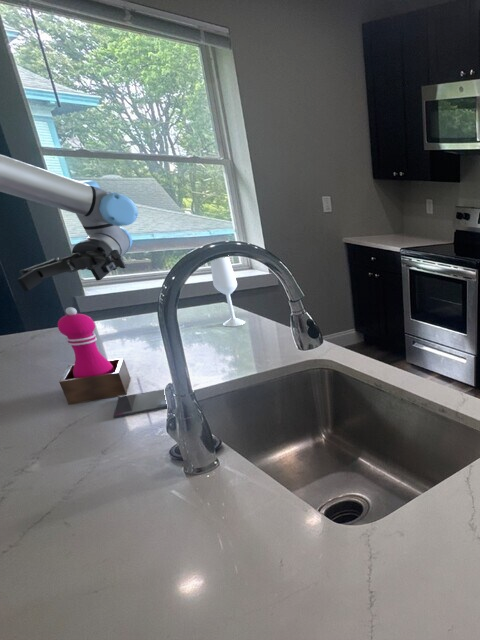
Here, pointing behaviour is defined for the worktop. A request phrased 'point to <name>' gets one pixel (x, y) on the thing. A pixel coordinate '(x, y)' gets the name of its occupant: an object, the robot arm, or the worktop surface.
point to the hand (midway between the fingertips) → (59, 279)
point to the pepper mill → (83, 344)
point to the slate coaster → (140, 403)
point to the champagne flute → (225, 285)
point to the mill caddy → (96, 384)
